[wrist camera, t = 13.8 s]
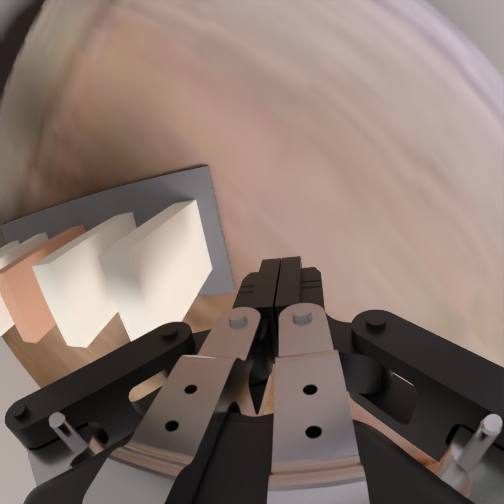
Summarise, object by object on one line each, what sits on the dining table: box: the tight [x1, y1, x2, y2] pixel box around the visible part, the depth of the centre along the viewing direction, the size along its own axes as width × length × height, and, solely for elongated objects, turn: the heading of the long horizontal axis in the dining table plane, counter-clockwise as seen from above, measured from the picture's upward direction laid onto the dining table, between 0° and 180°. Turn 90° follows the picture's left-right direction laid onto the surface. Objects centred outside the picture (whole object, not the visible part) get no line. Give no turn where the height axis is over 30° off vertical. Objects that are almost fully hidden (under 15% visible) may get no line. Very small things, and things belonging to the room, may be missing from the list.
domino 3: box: [32, 212, 137, 348], centre depth 18 cm, size 2×5×9 cm, turn 10°
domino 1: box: [0, 232, 49, 336], centre depth 19 cm, size 2×5×9 cm, turn 11°
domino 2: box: [0, 225, 86, 343], centre depth 19 cm, size 2×5×9 cm, turn 11°
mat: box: [0, 166, 236, 295], centre depth 23 cm, size 24×9×1 cm, turn 100°
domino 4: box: [98, 200, 212, 341], centre depth 17 cm, size 2×5×9 cm, turn 10°
